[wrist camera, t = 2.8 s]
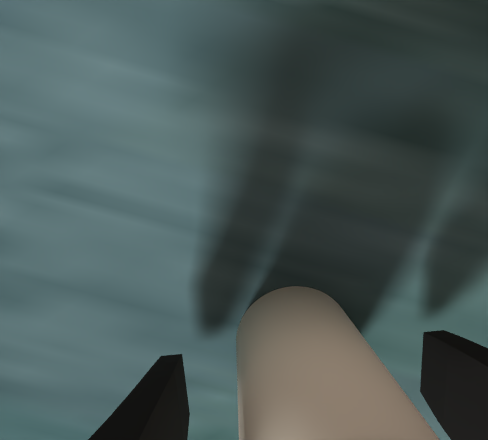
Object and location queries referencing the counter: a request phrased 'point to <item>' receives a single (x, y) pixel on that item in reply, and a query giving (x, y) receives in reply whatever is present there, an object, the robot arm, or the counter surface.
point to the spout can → (315, 375)
